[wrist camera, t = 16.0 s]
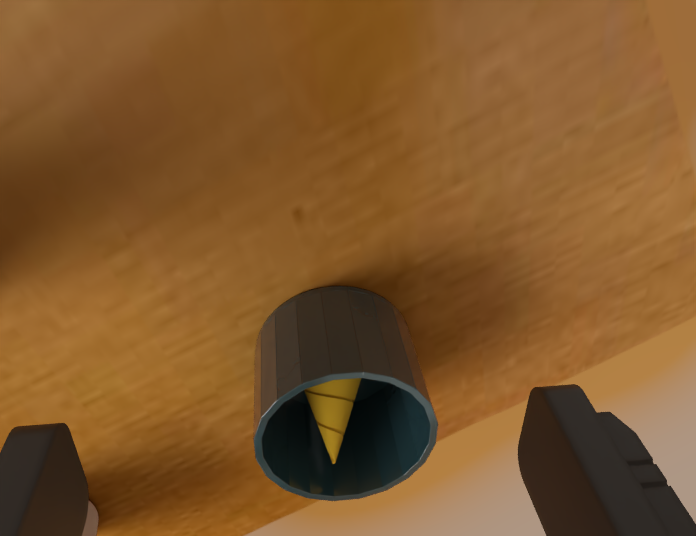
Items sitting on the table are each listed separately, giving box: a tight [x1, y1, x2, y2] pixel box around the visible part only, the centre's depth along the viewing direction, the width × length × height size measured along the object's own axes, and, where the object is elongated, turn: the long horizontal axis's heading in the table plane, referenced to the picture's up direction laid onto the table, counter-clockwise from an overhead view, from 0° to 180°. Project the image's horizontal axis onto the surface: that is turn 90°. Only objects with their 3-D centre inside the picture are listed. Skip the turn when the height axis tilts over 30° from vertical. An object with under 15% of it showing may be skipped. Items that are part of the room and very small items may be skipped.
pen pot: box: [254, 286, 438, 501], centre depth 43 cm, size 12×12×9 cm
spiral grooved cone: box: [304, 378, 361, 464], centre depth 43 cm, size 5×5×10 cm
